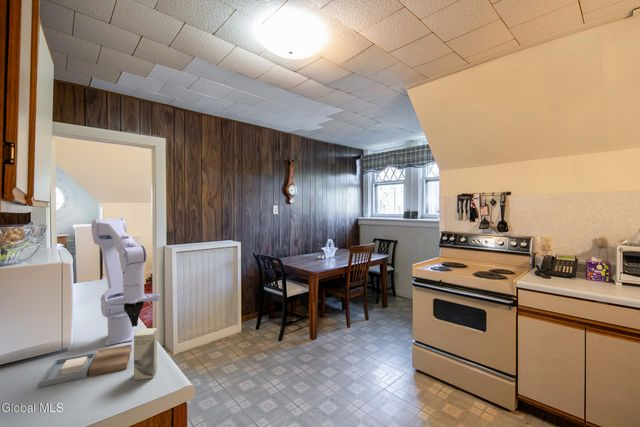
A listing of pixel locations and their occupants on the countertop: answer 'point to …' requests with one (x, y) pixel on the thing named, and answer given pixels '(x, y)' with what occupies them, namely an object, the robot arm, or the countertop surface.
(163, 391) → the countertop surface
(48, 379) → the tray
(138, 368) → the box
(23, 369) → the countertop surface
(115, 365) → the plate
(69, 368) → the tile
